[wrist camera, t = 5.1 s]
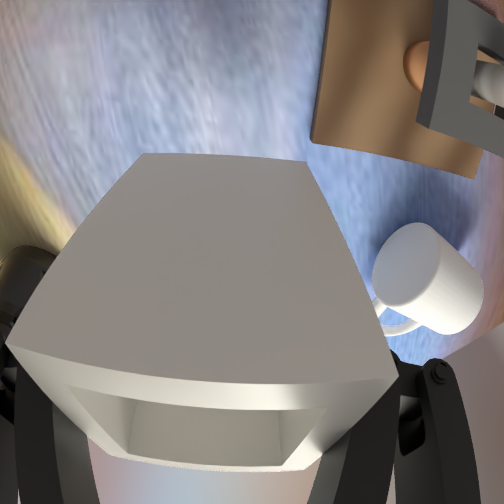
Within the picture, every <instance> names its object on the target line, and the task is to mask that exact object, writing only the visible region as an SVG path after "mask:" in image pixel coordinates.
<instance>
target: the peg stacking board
mask: <svg viewBox="0 0 504 504" xmlns="http://www.w3.org/2000/svg"><path fill="white" fill-rule="evenodd" d="M432 14H433V0H328V8H327V17H326V26H325V34H324V42H323V50H322V58H321V66H320V73H319V80H318V87H317V94H316V101H315V108H314V114H313V121H312V127H311V134H310V140H311V142H312V143H315V144H322V145H328V146H334V147H340V148H346V149H352V150H357V151H363V152H368V153H373V154H378V155H383V156H387V157H392V158H396V159H401V160H405V161H409V162H413V163H417V164H421V165H425V166H429V167H433V168H437V169H440V170H444V171H447V172H451V173H454V174H458V175H461V176H464V177H467V178H471V179H474V178H475V175H476V172H477V169H478V166H479V163H480V159H481V156H482V153H483V149H482V148H480V147H477V146H475V145H472V144H470V143H467V142H465V141H462V140H459V139H457V138H454V137H451V136H448V135H446V134H443V133H440V132H437V131H434V130H431V129H428V128H426V127H425V126H423V125H421V124H419V123H417V122H415V121H416V116H417V112H418V107H419V102H420V97H421V92H422V87H423V82H424V76H425V70H426V64H427V57H428V50H429V42H430V34H431V25H432ZM469 102H470V103H472V104H474V105H476V106H478V107H480V108H482V109H484V110H486V111H488V112H490V113H492V114H493V110H494V106H495V104H496V105H498V106H501V107H503V108H504V65H501V64H500V63H499V62H497V61H496V60H494V59H493V58H491V57H490V56H488V55H486V54H485V53H483V52H481V51H480V50H478V52H477V60H476V67H475V73H474V79H473V85H472V90H471V96H470V100H469Z"/></svg>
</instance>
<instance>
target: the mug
mask: <svg viewBox="0 0 504 504" xmlns="http://www.w3.org/2000/svg"><path fill="white" fill-rule="evenodd" d="M372 287H373V291H374V293H375V296H376V297H375V299H374V300H373V301H372V304H373V306H374V309H375V311H376V314H377V317H378V318H379V316H380V315H381V314H382V312H383V311H384V310H385V309H386V308H387V307H389V308H391V309H393V310H395V311H397V312H399V313H401V314H403V315H405V316H407V317H409V319H408V320H406V321H405V322H403V323H401V324H398V325H384V324H381V323H380V324H381V327H382V330H383V332H384V335H385V336H395V335H400V334H404V333H407V332H410V331H412V330H414V329H416V328H418V327H419V326H421V325H424V326H426V327H428V328H430V329H432V330H434V331H436V332H438V333H440V334H454V333H457V332H460V331H461V330H463V329H465V328H466V327H467V326H468V325H470V324H471V322H472V321H473V320H474V319H475V317H476V316H477V314H478V312H479V310H480V308H481V305H482V302H483V296H484V287H483V282H482V279H481V276H480V275H479V273H478V272H477V270H476V269H475V268H474V267H473V266H472V265H471V264H470V263H469V262H468V261H467V260H466V259H465V258H464V257H463V256H462V255H461V254H460V253H459V252H458V251H457V250H456V249H455V248H454V247H453V246H451V245H450V244H449V243H448V242H447V241H446V240H445V239H444V238H443V237H442V236H441V235H440V234H439V233H437V232H436V231H435V230H434V229H433V228H432V227H431V226H429V225H427V224H425V223H420V222H415V223H410V224H407V225H404V226H402V227H401V228H399V229H398V230H396V231H395V232H394V233H393V234H392V235H391V236H390V237H389V238H388V239H387V240H386V241H385V243H384V244H383V246H382V247H381V249H380V251H379V253H378V255H377V257H376V260H375V263H374V266H373V271H372Z"/></svg>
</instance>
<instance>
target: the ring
mask: <svg viewBox="0 0 504 504" xmlns="http://www.w3.org/2000/svg"><path fill="white" fill-rule="evenodd" d="M478 50H480V51H481V52H483V53H485V54H486V55H488V56H490V57H491V58H493V59H494V60H496V61H497V62H499V63H500V64H502V65H504V24H503V23H502V22H500V21H499V20H497V19H496V18H495V17H493V16H492V15H490V14H489V13H487V12H486V11H484V10H483V9H481V8H480V7H478V6H476V5H475V4H473V3H472V2H470V1H468V0H433V14H432V25H431V34H430V42H429V50H428V57H427V64H426V70H425V76H424V82H423V87H422V92H421V97H420V102H419V107H418V112H417V116H416V121H415V122H417V123H419V124H421V125H423V126H425V127H426V128H428V129H431V130H434V131H437V132H440V133H443V134H446V135H448V136H451V137H454V138H457V139H459V140H462V141H465V142H467V143H470V144H472V145H475V146H477V147H480V148H482V149H484V150H487V151H489V152H491V153H494V154H496V155H498V156H500V157H503V158H504V108H503V107H501V106H498V105H496V109H495V113H494V114H492V113H490V112H488V111H486V110H484V109H482V108H480V107H478V106H476V105H474V104H472V103H470V102H469V100H470V96H471V90H472V85H473V79H474V73H475V67H476V60H477V52H478Z"/></svg>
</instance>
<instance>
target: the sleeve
mask: <svg viewBox="0 0 504 504" xmlns="http://www.w3.org/2000/svg"><path fill="white" fill-rule="evenodd" d="M5 344H6V345H7V347H8V348H9V349H10V351H11V352H12V353H13V355H14V356H15V357H16V359H17V360H18V361H19V363H20V364H21V365H22V367H23V368H24V369H25V370H26V372H27V373H28V374H29V375H30V376H31V378H32V379H33V380H34V381H35V382H36V384H37V385H38V386H39V387H40V388H41V389H42V391H43V392H44V393H45V394H46V395H47V396H48V397H49V398H50V399H51V400H52V401H53V402H54V404H55V405H56V406H57V407H58V408H59V409H60V410H61V411H62V412H63V413H64V414H65V415H66V416H67V417H68V418H69V419H70V420H71V421H72V422H73V423H74V424H75V425H76V426H77V427H78V428H79V429H81V430H82V431H83V432H84V433H85V434H86V435H87V436H88V437H89V438H90V439H91V440H93V441H94V442H95V443H96V444H97V445H98V446H100V447H101V448H102V449H103V450H104V451H106V452H107V453H108V454H109V455H113V456H117V457H121V458H126V459H130V460H136V461H140V462H146V463H152V464H158V465H164V466H172V467H179V468H188V469H198V470H210V471H229V472H276V471H293V470H294V471H295V470H304V469H306V468H307V467H308V466H310V465H311V464H312V463H313V462H314V461H315V460H317V459H318V458H319V457H320V456H321V455H322V454H323V453H324V452H326V451H327V450H328V449H329V448H330V447H331V446H332V445H333V444H334V443H336V442H337V441H338V440H339V439H340V438H341V437H342V436H343V435H344V434H345V433H346V432H347V431H348V430H349V429H350V428H351V427H353V426H354V425H355V424H356V423H357V422H358V421H359V420H360V419H361V418H362V417H363V416H364V415H365V414H366V413H367V412H368V411H369V409H370V408H371V407H372V406H373V405H374V404H375V403H376V402H377V401H378V400H379V399H380V398H381V396H382V395H383V394H384V393H385V392H386V391H387V390H388V389H389V387H390V386H391V385H392V384H393V383H394V382H395V380H396V379H397V378H398V377H399V375H398V372H397V369H396V366H395V363H394V360H393V357H392V354H391V351H390V349H389V346H388V343H387V340H386V338H385V335H384V332H383V330H382V327H381V324H380V322H379V319H378V317H377V314H376V311H375V309H374V306H373V304H372V301H371V299H370V296H369V294H368V292H367V289H366V287H365V284H364V282H363V280H362V277H361V275H360V273H359V270H358V268H357V266H356V263H355V261H354V259H353V257H352V254H351V252H350V250H349V248H348V246H347V243H346V241H345V239H344V237H343V235H342V233H341V230H340V228H339V226H338V224H337V222H336V220H335V218H334V216H333V214H332V212H331V210H330V208H329V206H328V204H327V202H326V200H325V198H324V196H323V194H322V192H321V190H320V188H319V186H318V184H317V182H316V180H315V178H314V176H313V174H312V173H311V171H310V169H309V167H308V165H307V163H306V162H301V161H292V160H282V159H272V158H260V157H247V156H232V155H213V154H184V153H143V154H142V155H141V156H140V157H139V158H138V159H137V161H136V162H135V163H134V164H133V165H132V166H131V167H130V168H129V169H128V170H127V171H126V172H125V173H124V174H123V176H122V177H121V178H120V179H119V180H118V181H117V182H116V183H115V184H114V186H113V187H112V188H111V189H110V190H109V191H108V192H107V194H106V195H105V196H104V197H103V198H102V199H101V201H100V202H99V203H98V204H97V205H96V207H95V208H94V209H93V210H92V211H91V213H90V214H89V215H88V216H87V218H86V219H85V220H84V221H83V223H82V224H81V225H80V227H79V228H78V229H77V230H76V232H75V233H74V234H73V236H72V237H71V238H70V240H69V241H68V242H67V244H66V245H65V246H64V248H63V249H62V251H61V252H60V253H59V255H58V256H57V258H56V259H55V260H54V262H53V263H52V265H51V266H50V268H49V269H48V271H47V272H46V274H45V275H44V277H43V278H42V280H41V281H40V283H39V284H38V286H37V288H36V289H35V291H34V292H33V294H32V296H31V297H30V299H29V300H28V302H27V304H26V305H25V307H24V309H23V311H22V312H21V314H20V316H19V318H18V319H17V321H16V323H15V325H14V326H13V328H12V330H11V332H10V334H9V336H8V338H7V340H6V342H5Z"/></svg>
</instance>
